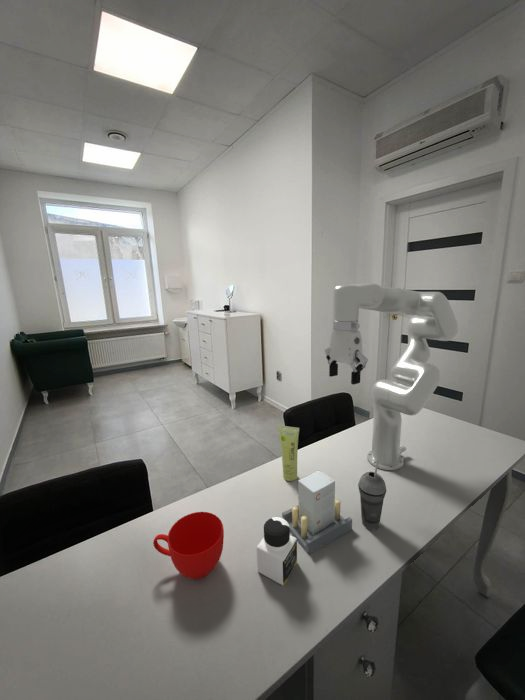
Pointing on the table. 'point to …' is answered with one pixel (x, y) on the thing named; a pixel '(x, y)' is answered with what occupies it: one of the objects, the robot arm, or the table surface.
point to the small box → (317, 500)
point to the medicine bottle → (277, 551)
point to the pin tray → (323, 536)
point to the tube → (289, 451)
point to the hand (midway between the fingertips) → (344, 379)
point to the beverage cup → (371, 498)
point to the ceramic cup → (194, 544)
